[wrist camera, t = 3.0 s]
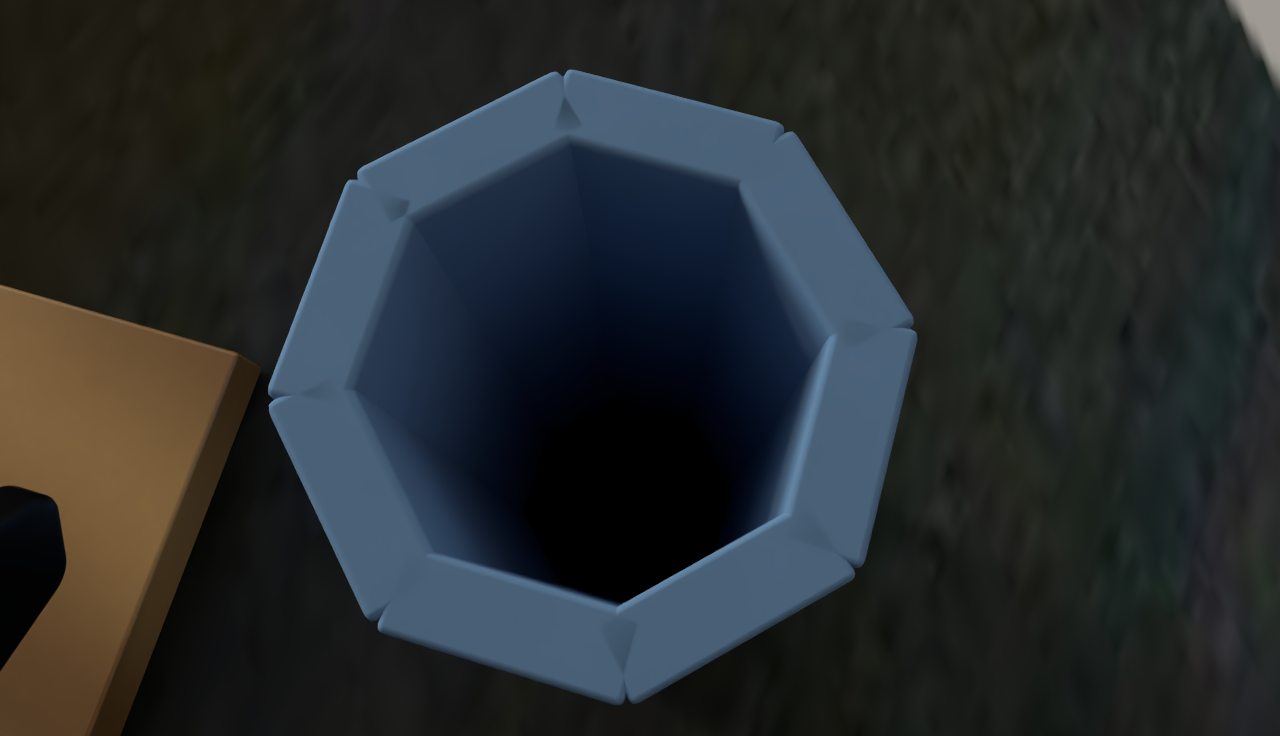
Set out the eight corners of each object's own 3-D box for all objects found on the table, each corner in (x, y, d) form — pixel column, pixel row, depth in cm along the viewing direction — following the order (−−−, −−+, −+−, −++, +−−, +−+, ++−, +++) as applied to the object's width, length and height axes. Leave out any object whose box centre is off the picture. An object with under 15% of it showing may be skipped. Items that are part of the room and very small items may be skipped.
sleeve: (721, 673, 18) (817, 768, 7) (458, 594, 19) (190, 575, 8) (790, 411, 19) (959, 165, 9) (541, 340, 20) (403, 22, 9)
